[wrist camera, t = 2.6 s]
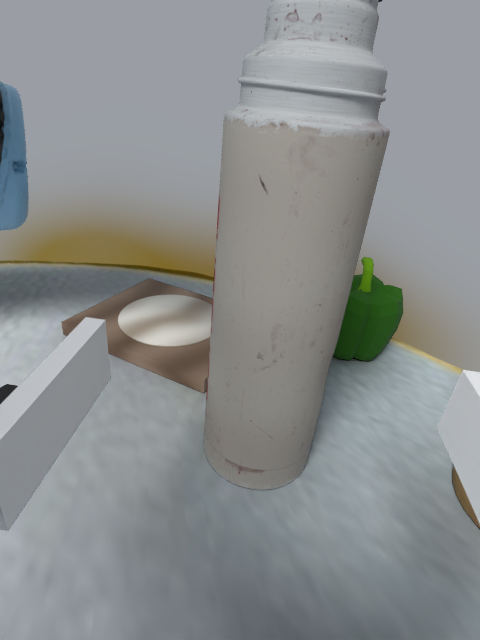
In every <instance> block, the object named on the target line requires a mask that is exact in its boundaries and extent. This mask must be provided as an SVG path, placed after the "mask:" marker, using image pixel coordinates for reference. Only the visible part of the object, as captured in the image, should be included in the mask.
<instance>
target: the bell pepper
mask: <svg viewBox="0 0 480 640" xmlns="http://www.w3.org/2000/svg"><path fill="white" fill-rule="evenodd" d="M361 261H362V264H363V265H364V268H363V274H362V275H354V277H353V281H352V285H351V289H350V293H349V297H348V301H347V305H346V309H345V313H344V317H343V321H342V325H341V329H340V333H339V337H338V341H337V344H336V348H335V351H334V354H333V355H334V356H335V357H337V358H339V359H346V360H350V359H352V358H353V357H354V358H357V359H359V360H366V361H370V360H372V359H373V358H374V357H376V356H377V355H378V354H379V353H381V352H382V350H383V349H384V348H385V346H386V345H387V344H388V342H389V341H390V339H391V338H392V336H393V335H394V333H395V332H396V330H397V328H398V325H399V323H400V320H401V317H402V314H403V297H402V289H400V288H397V287H394V286H391V285H384V284H383V282H382V281H380V280H379V279H378V278H377V277H375V276H374V275H373V265H374V264H373V260H372V259H371V258H367V257H364V258H362V260H361Z"/></svg>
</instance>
